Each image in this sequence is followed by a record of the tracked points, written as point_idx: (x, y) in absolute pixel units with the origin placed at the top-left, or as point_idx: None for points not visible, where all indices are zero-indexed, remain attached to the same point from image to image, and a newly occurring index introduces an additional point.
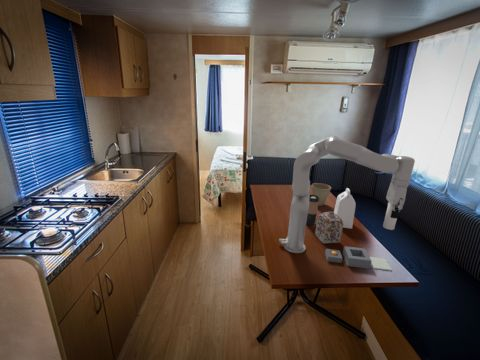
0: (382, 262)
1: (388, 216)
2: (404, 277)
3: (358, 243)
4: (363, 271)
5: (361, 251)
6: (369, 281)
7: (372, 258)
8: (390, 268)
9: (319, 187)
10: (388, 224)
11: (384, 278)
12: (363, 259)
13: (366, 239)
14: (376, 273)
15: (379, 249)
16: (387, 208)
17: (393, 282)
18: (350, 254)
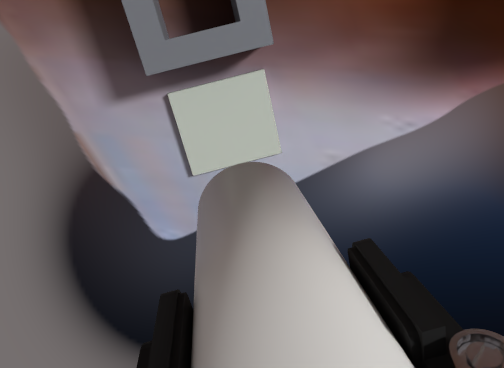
0: (238, 138)
1: (208, 261)
2: (168, 218)
3: (397, 20)
4: (109, 37)
5: (239, 20)
6: (34, 64)
7: (253, 91)
8: (201, 170)
9: None
10: (199, 223)
11: (108, 137)
12: (132, 26)
13: (457, 70)
14: (129, 103)
15: (369, 133)
16: (294, 308)
17: (99, 173)
18: None
